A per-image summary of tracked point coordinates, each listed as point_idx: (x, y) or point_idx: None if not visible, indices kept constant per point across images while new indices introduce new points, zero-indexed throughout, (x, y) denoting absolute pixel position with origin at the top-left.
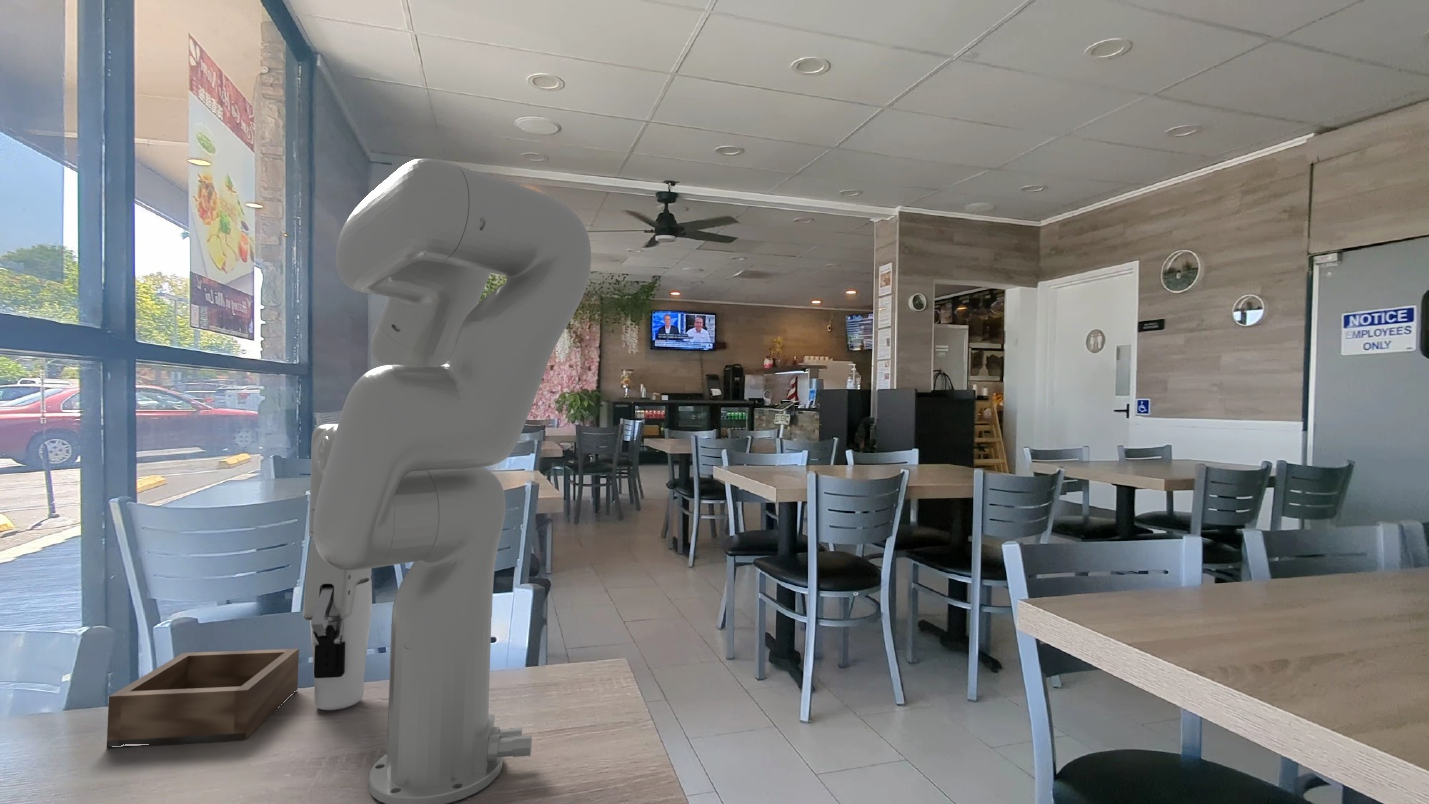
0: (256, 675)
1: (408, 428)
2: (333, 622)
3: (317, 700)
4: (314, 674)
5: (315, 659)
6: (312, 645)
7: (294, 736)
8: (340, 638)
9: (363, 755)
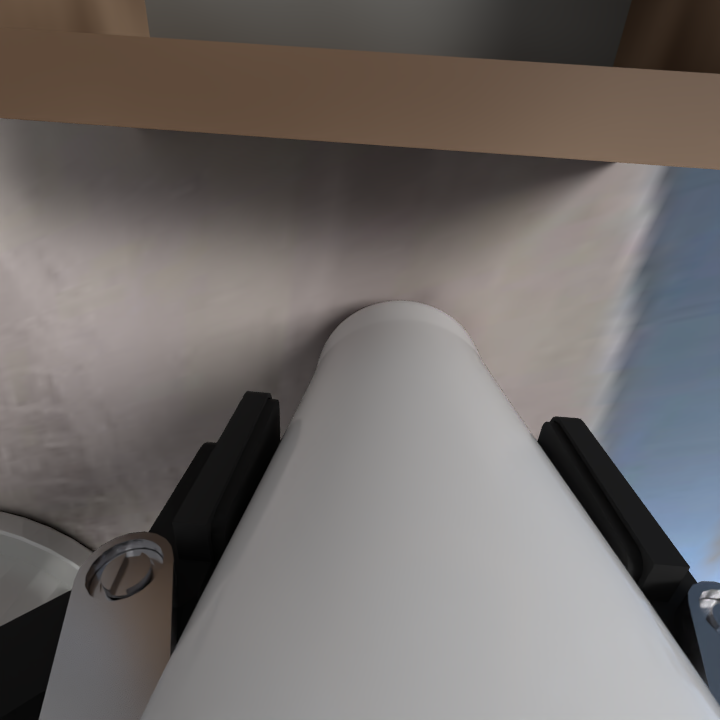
0: (206, 55)
1: None
2: None
3: (336, 331)
4: (242, 398)
5: (216, 450)
6: (308, 452)
7: (172, 291)
8: None
9: (78, 476)
